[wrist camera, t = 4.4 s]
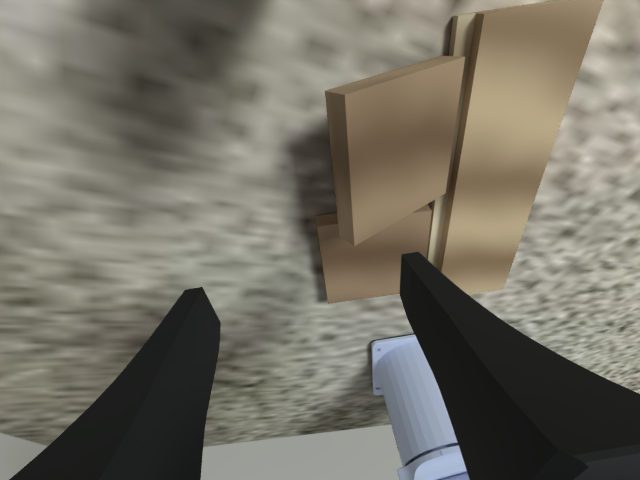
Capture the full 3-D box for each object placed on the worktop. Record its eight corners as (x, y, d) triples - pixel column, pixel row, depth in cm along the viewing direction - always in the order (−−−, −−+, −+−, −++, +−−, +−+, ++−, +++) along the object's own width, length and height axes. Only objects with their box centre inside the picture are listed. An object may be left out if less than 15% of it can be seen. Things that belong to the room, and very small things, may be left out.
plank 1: (428, 186, 19) (445, 193, 18) (339, 235, 16) (354, 246, 15) (442, 55, 15) (465, 56, 14) (324, 91, 12) (344, 94, 11)
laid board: (494, 278, 25) (503, 289, 24) (421, 290, 25) (426, 301, 24) (583, -4, 14) (605, -5, 13) (453, 15, 14) (465, 16, 13)
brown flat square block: (416, 278, 24) (422, 290, 23) (326, 291, 24) (328, 303, 23) (425, 200, 20) (431, 210, 19) (315, 215, 20) (316, 226, 19)
